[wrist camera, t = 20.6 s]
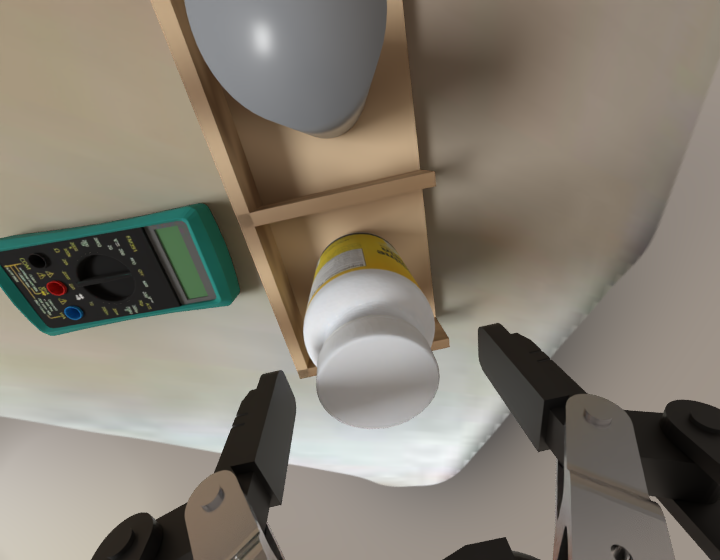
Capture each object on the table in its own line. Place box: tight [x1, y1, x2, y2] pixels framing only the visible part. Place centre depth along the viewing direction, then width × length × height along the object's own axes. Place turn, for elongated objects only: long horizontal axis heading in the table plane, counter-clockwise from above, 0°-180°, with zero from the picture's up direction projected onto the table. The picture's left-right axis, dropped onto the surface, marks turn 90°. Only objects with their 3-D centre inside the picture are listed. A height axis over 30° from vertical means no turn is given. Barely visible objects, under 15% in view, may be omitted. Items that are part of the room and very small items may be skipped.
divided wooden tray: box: [150, 0, 450, 379], centre depth 17 cm, size 24×12×4 cm, turn 12°
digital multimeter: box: [0, 203, 240, 336], centre depth 19 cm, size 7×15×3 cm, turn 99°
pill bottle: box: [303, 232, 440, 429], centre depth 15 cm, size 6×6×12 cm
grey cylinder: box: [184, 0, 387, 139], centre depth 11 cm, size 5×5×10 cm
